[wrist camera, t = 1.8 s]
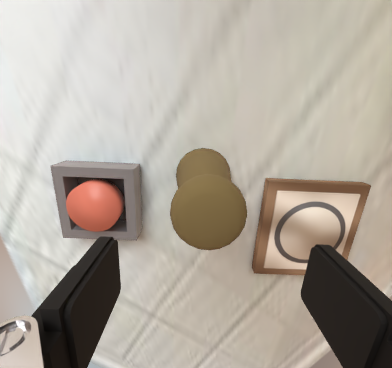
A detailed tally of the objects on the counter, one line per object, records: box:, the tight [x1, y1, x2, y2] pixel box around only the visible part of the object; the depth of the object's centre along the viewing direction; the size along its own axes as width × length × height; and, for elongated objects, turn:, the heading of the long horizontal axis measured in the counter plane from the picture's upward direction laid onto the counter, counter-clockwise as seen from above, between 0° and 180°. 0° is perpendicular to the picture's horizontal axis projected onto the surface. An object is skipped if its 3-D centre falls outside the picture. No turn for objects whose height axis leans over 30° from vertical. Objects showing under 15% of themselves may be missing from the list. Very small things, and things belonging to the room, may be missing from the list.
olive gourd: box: [170, 148, 247, 250], centre depth 18 cm, size 6×6×11 cm
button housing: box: [51, 161, 142, 240], centre depth 23 cm, size 8×8×2 cm
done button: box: [66, 179, 125, 232], centre depth 22 cm, size 5×5×2 cm
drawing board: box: [252, 178, 371, 275], centre depth 24 cm, size 12×11×2 cm
